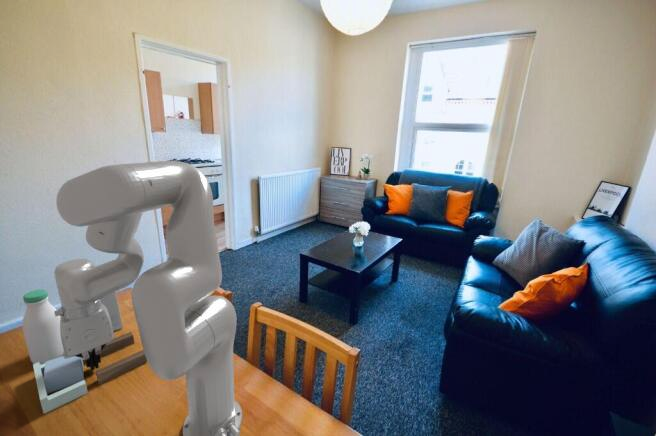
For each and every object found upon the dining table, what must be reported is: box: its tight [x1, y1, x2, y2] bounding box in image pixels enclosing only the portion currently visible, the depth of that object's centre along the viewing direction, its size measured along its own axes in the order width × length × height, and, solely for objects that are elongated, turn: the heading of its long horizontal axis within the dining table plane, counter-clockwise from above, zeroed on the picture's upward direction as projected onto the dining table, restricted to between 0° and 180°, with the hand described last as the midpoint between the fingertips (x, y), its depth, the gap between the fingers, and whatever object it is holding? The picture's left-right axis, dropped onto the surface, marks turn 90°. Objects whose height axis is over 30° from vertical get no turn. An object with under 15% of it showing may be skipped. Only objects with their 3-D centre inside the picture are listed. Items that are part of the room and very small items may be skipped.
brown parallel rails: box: [88, 331, 148, 385], centre depth 83 cm, size 13×11×3 cm
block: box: [43, 356, 85, 394], centre depth 76 cm, size 7×7×4 cm
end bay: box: [32, 362, 89, 415], centre depth 74 cm, size 15×8×4 cm, turn 48°
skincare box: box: [100, 291, 124, 332], centre depth 95 cm, size 8×6×15 cm
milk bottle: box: [21, 289, 64, 365], centre depth 81 cm, size 8×8×20 cm
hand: (94, 366), depth 79 cm, fingers closed
